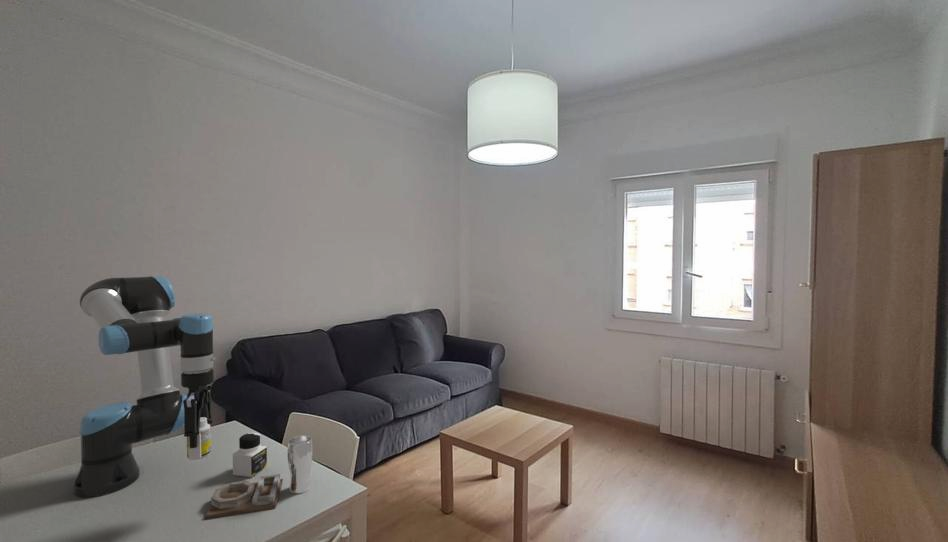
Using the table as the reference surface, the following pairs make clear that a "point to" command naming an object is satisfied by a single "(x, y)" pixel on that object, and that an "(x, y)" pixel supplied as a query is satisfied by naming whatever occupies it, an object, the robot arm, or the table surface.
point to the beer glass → (300, 463)
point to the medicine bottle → (249, 456)
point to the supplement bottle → (203, 438)
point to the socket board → (244, 506)
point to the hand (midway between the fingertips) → (199, 452)
